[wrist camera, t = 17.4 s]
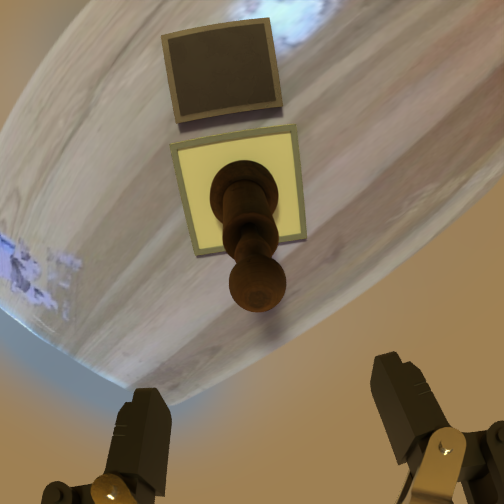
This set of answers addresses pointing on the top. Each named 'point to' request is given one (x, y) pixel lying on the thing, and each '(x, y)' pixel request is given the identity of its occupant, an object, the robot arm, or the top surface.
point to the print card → (229, 150)
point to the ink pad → (222, 69)
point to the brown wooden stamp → (249, 232)
